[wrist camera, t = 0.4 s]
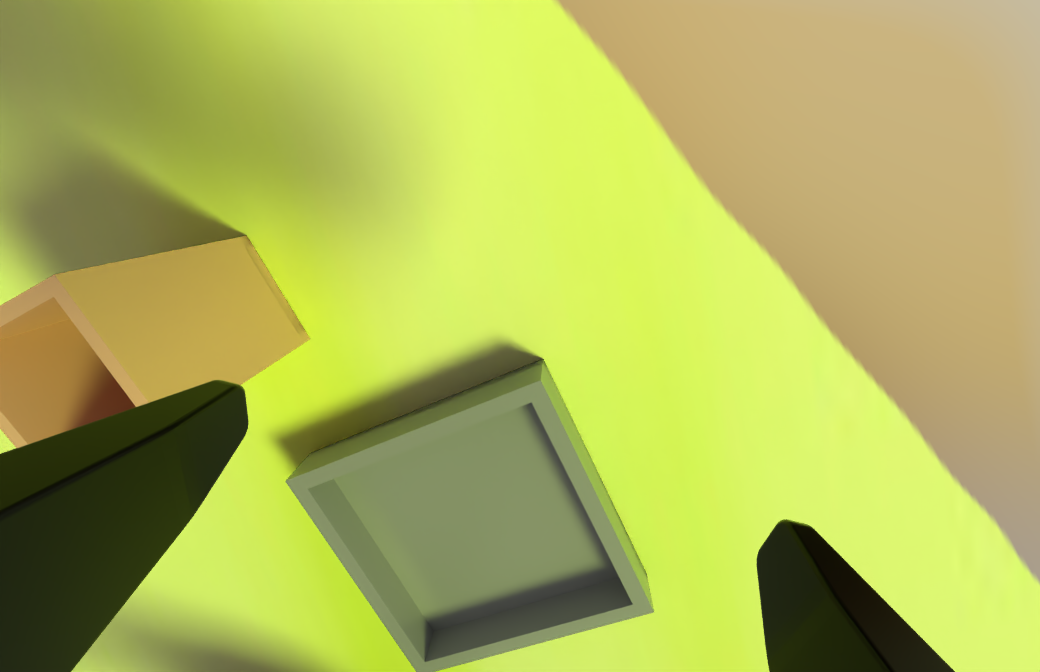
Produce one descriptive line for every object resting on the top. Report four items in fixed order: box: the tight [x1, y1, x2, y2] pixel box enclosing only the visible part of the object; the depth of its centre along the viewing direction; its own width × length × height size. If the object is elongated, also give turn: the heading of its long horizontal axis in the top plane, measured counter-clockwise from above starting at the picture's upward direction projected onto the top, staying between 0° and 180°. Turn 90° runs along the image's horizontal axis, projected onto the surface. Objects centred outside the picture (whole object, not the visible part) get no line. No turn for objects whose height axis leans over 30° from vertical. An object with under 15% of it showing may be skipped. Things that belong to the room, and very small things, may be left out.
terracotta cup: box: [0, 236, 310, 448], centre depth 20 cm, size 6×6×9 cm
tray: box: [286, 359, 654, 672], centre depth 25 cm, size 14×14×2 cm
